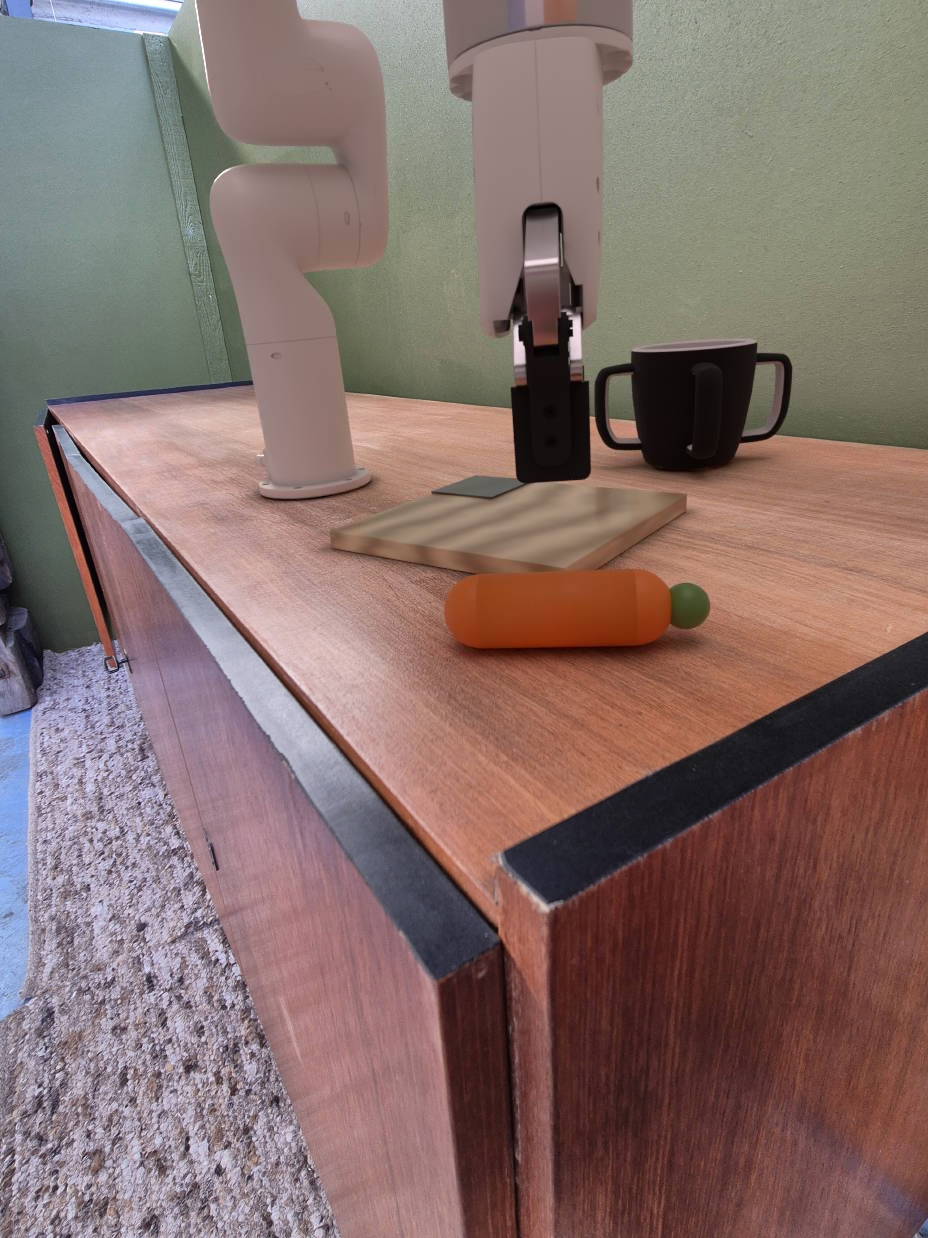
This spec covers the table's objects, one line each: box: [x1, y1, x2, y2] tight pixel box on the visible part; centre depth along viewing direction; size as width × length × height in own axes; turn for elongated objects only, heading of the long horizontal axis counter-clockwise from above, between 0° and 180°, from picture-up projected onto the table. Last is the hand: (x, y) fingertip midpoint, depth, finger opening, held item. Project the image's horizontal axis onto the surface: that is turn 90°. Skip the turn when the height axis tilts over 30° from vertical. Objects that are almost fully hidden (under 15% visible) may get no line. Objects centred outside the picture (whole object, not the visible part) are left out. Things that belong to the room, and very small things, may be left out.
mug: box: [593, 338, 793, 471], centre depth 74 cm, size 16×16×12 cm
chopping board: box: [328, 474, 688, 575], centre depth 59 cm, size 22×20×2 cm
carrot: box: [443, 568, 711, 649], centre depth 37 cm, size 14×4×4 cm
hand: (555, 459), depth 35 cm, fingers open, 9 cm apart
